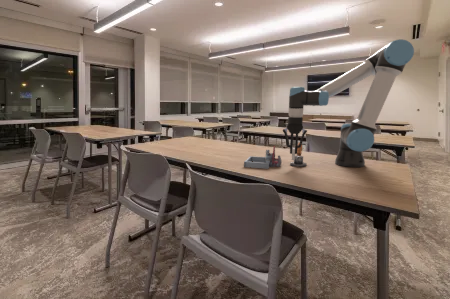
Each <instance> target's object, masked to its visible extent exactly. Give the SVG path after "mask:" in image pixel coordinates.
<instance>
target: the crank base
mask: <svg viewBox="0 0 450 299" xmlns="http://www.w3.org/2000/svg"><path fill="white" fill-rule="evenodd" d="M289 165H290V166H291V167H296V168H304V167H305V168H306V167H307V162H304V161H303V164H295V163H294V161H291V162H289Z"/></svg>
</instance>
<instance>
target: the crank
mask: <svg viewBox="0 0 450 299" xmlns="http://www.w3.org/2000/svg"><path fill="white" fill-rule="evenodd" d="M299 143H300V142H298V145H299ZM302 152H303V144H302V145H301V147H300V148H298V149H297V154H296V155H295V160H293V162H294V163H295V164H303V162H304V156H303V155H302Z"/></svg>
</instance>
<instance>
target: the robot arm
mask: <svg viewBox="0 0 450 299" xmlns="http://www.w3.org/2000/svg"><path fill="white" fill-rule="evenodd" d="M414 53H415V48H414V46H413V44H412V42H410V41H408V40H407V39H396V40H393V41H390V42H388V43H387V44H386V45H384V46H383V47H381V48H380V49H379V50H377V51H376V52H374V54H373V55H371V56H369V57H368V58H366V59H365V60H364V62H363V63H361V64H360V65H358V66H355V68H352V69H351V70H348V71H347V72H345V73H344V74H341V75H339V76H338V77H337V78H335V79H333V80H331V81H329V82H328V83H326V84H325V85H323V86H321V87H320V88H317V89H316V90H306V89H305V87H304V86H291V87H290V89H289V95H288V96H289V97H288V116H289V117H288V118H287V126H286V127H285V128H283V129H282V132H283V134H284V139H285V143H286V147H287V148H289V154H290V155H291V161H294V160H295V156H296V155H297V149H298V148H300V147H301V145H302V146H303V142H304V138H305V135H306V134H307V132H308V130H307V129H305V128H304V126H303V122H304V121H303V119H304V118H303V116H304V106H312V107H315V106H317V107H319V106H320V107H323V106H324V107H325V106H327V105H328V104H329V100H330V98H332V97H334V96H336V95H338V94H339V93H341V92H343V91H344V90H345V91H346V90H347V89H348V88H350V87H352V86H355V85H356V84H358V83H359V82H362V81H363V80H365V79H367V78H368V77H371V76H373V77H374V78H373V80H372V82H371V85H370V87H369V89H368V92H367V94H366V96H365V99H364V101H363V104H362V106H361V108H360V109H359V113H358V115H357V118H356V119H355V120H352V121H351V123H344V124H342V125H341V126H340V140H339V150H338V153H337V155H336V157H335V161H334V162H335V164H336V165H338V166H341V167H347V168H362V167H365V164H366V161H365V158H364V154H363V152H366V151H368V150H369V149H371V148H372V147H373V144H374V142H375V134H376V132H377V129H378V128H377V127H376V123H377V120H378V118H379V116H380V114H381V111H382V109H383V107H384V105H385V103H386V101H387V99H388V95H389V94H390V92H391V90H392V88H393V84H394V82H395V80H396V78H397V77H398V76H400V75H401V74H403V70H404V69H405V67H406V65H407V64H408V63H409V62H410V61H411V60H412V58H413V57H414ZM288 132H289V133H290V141H289V137H288ZM301 132H302V134H301ZM299 134H301V137H300V140H299ZM294 135H295V141H294ZM294 142H295V143H294ZM298 143H299V145H298ZM293 146H294V147H293Z"/></svg>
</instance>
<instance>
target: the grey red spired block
mask: <svg viewBox="0 0 450 299" xmlns="http://www.w3.org/2000/svg"><path fill="white" fill-rule="evenodd" d="M264 157H265V160H266V161H264V162H263V163H269V168H270V167H271V168H272V167H273V168H274V167H275V168H277V167H278V168H279V167H281V166H282V162H283V161H282V157H281V155H278V156H277V157H276V146H275V145H273V150H272V152H270V149H265V156H264Z"/></svg>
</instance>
